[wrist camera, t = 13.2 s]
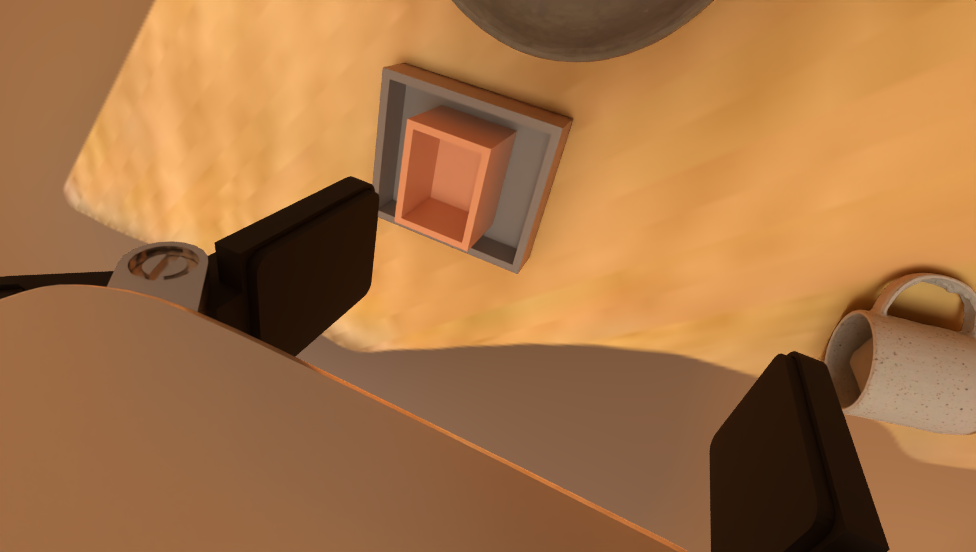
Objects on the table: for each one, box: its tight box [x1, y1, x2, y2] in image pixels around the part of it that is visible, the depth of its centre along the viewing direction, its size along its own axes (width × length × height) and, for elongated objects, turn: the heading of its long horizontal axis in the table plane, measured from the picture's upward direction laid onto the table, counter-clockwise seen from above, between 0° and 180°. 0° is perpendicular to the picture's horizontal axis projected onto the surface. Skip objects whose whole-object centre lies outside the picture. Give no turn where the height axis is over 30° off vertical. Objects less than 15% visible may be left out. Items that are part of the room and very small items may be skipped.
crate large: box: [372, 63, 573, 274], centre depth 42 cm, size 13×15×4 cm
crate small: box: [394, 105, 517, 251], centre depth 41 cm, size 9×7×6 cm
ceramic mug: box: [824, 273, 976, 435], centre depth 34 cm, size 11×8×8 cm
